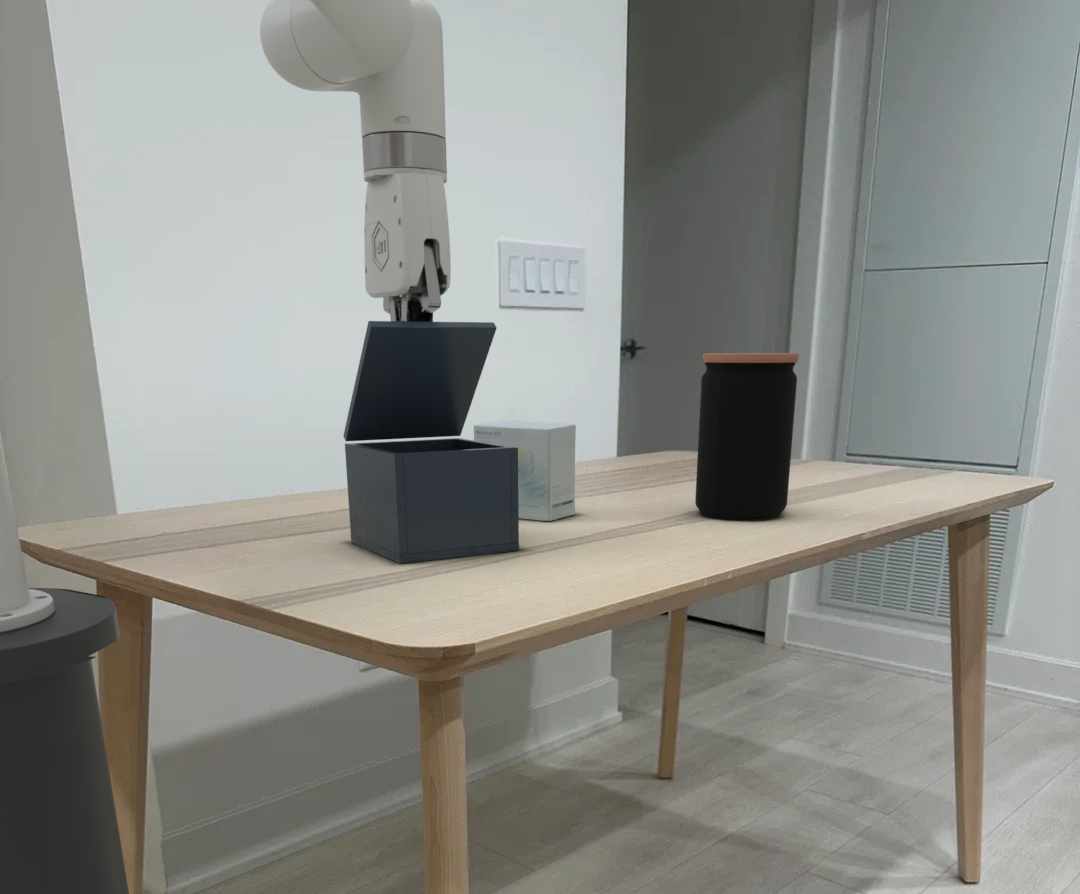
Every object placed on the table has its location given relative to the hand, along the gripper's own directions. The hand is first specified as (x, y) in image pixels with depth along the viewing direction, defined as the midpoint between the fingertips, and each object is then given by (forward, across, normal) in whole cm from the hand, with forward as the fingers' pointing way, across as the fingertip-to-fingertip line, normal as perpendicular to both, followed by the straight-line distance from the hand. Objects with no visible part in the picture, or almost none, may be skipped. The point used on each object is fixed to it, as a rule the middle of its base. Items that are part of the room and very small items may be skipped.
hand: (413, 376), depth 98 cm
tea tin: (+16, +3, 0) cm, 16 cm away
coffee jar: (+16, +3, +40) cm, 43 cm away
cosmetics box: (+16, -10, +18) cm, 26 cm away
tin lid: (+1, +1, 0) cm, 1 cm away
